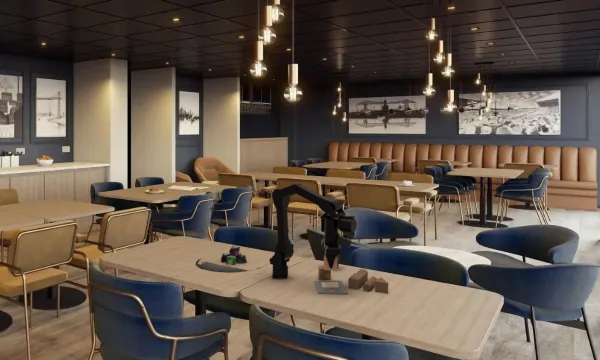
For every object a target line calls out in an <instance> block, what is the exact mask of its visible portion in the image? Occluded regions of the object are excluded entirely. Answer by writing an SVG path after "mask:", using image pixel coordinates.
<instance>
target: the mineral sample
mask: <svg viewBox="0 0 600 360" xmlns="http://www.w3.org/2000/svg"><path fill="white" fill-rule="evenodd" d="M240 249H241V247H240V246H235V245H232V246H231V247H230V249H229V251H228V253H226V252H223V253H222V255H221V257H220V261H221V262H222V263H227V264H228V265H224V264H218V263H213V262H209V261H205V260H202V258H199V259H197V260H196V261H195V265H196V266H197V267H199V268H200V269H202V270H203V269H204V270H208V271H212V272H213V271H214V272H223V273H236V272H237V273H238V272H248V271H250V270H247V269H243V268H238V267H233V266H232V265H237V264H248V263H247V261H248V260H247V256H246V254H242V252H240ZM201 260H202V262H201V263H200V261H201ZM260 268H262V267H260V266H259V267H257V268H256V270H258V269H259V270H260Z"/></svg>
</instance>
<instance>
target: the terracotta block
mask: <svg viewBox="0 0 600 360" xmlns="http://www.w3.org/2000/svg"><path fill="white" fill-rule="evenodd" d="M323 266H324V269H325V270H331V271H338V269H337V257H335V261H334V264H333V268H330V267H329V264H328V261H327V258H326V255H325V254H324V255H323Z"/></svg>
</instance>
